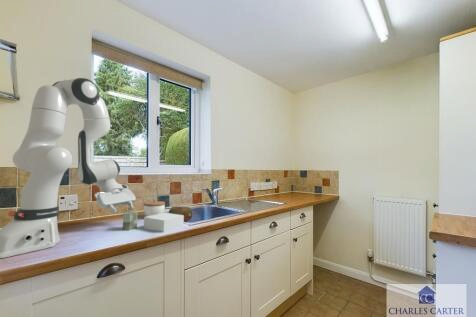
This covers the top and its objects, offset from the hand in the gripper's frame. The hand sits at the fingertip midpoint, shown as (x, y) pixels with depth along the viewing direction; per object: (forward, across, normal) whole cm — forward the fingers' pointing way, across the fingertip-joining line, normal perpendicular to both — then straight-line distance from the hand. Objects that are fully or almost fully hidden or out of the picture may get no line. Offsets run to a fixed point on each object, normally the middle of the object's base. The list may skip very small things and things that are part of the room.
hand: (124, 211), depth 116 cm
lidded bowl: (+4, +26, +9) cm, 27 cm away
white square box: (+18, +10, -6) cm, 22 cm away
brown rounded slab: (+18, +26, -5) cm, 32 cm away
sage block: (+9, 0, +3) cm, 9 cm away
